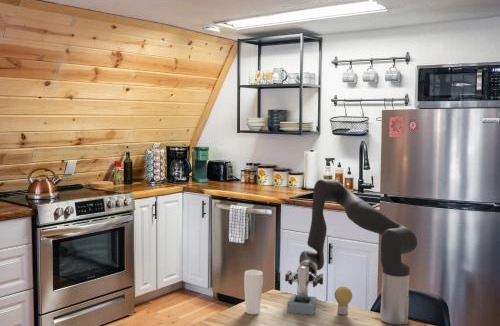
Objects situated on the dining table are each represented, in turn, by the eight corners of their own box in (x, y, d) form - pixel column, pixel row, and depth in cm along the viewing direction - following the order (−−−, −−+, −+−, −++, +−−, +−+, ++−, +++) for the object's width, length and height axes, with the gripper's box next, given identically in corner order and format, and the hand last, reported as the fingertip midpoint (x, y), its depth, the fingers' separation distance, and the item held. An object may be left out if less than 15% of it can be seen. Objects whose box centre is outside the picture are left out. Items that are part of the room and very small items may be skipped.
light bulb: (350, 310, 194) (351, 284, 193) (352, 317, 188) (353, 290, 187) (333, 309, 195) (334, 283, 194) (334, 316, 188) (335, 289, 187)
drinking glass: (241, 314, 187) (242, 274, 186) (245, 308, 194) (246, 268, 193) (259, 316, 186) (261, 275, 185) (263, 310, 193) (264, 270, 191)
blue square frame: (316, 306, 198) (316, 297, 198) (313, 315, 189) (313, 305, 188) (291, 303, 200) (291, 294, 200) (287, 312, 191) (287, 303, 191)
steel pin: (307, 307, 196) (309, 266, 195) (306, 311, 192) (308, 269, 191) (297, 306, 197) (298, 265, 196) (295, 310, 193) (297, 268, 192)
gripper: (289, 260, 209) (283, 271, 193) (325, 263, 206) (322, 275, 190) (289, 278, 209) (282, 291, 194) (324, 281, 206) (321, 295, 190)
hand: (302, 283), depth 192 cm, fingers open, 8 cm apart
